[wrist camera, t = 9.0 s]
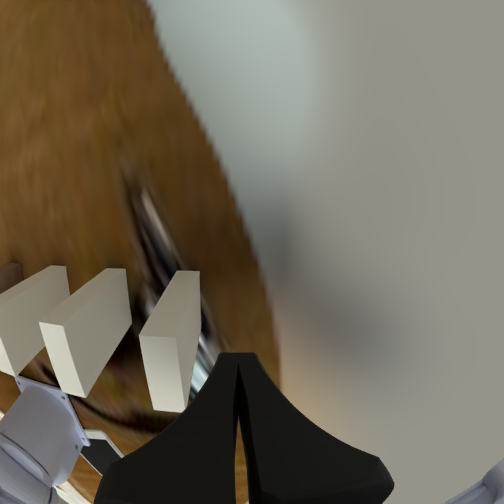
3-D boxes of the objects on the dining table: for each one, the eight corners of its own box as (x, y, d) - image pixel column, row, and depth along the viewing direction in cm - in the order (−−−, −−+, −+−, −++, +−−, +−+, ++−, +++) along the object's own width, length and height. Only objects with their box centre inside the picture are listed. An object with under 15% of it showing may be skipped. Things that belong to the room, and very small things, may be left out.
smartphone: (116, 489, 26) (57, 427, 23) (116, 486, 27) (59, 424, 23) (158, 493, 26) (102, 431, 23) (159, 490, 27) (103, 427, 23)
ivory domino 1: (74, 316, 20) (15, 376, 11) (60, 314, 19) (0, 370, 11) (65, 266, 19) (-8, 311, 10) (51, 265, 18) (-22, 307, 10)
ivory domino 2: (132, 323, 20) (86, 397, 11) (113, 321, 20) (62, 392, 11) (125, 268, 19) (62, 325, 10) (106, 268, 19) (38, 321, 10)
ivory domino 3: (201, 327, 20) (185, 412, 12) (180, 326, 20) (154, 409, 12) (199, 271, 19) (176, 337, 11) (176, 270, 19) (138, 335, 11)
